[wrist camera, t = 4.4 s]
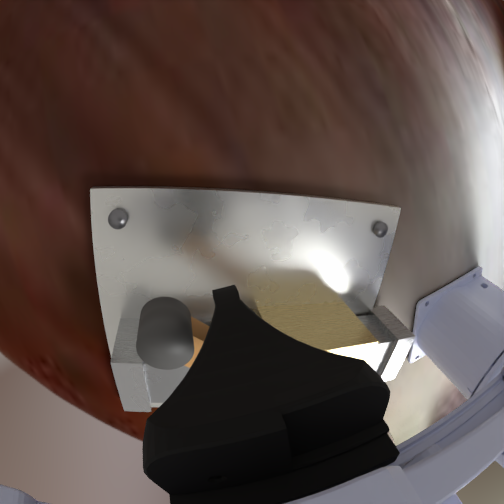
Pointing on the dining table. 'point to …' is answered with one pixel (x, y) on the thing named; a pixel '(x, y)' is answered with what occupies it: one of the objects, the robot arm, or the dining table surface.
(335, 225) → the mounting plate
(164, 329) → the lever
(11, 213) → the dining table surface
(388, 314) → the pipe valve
